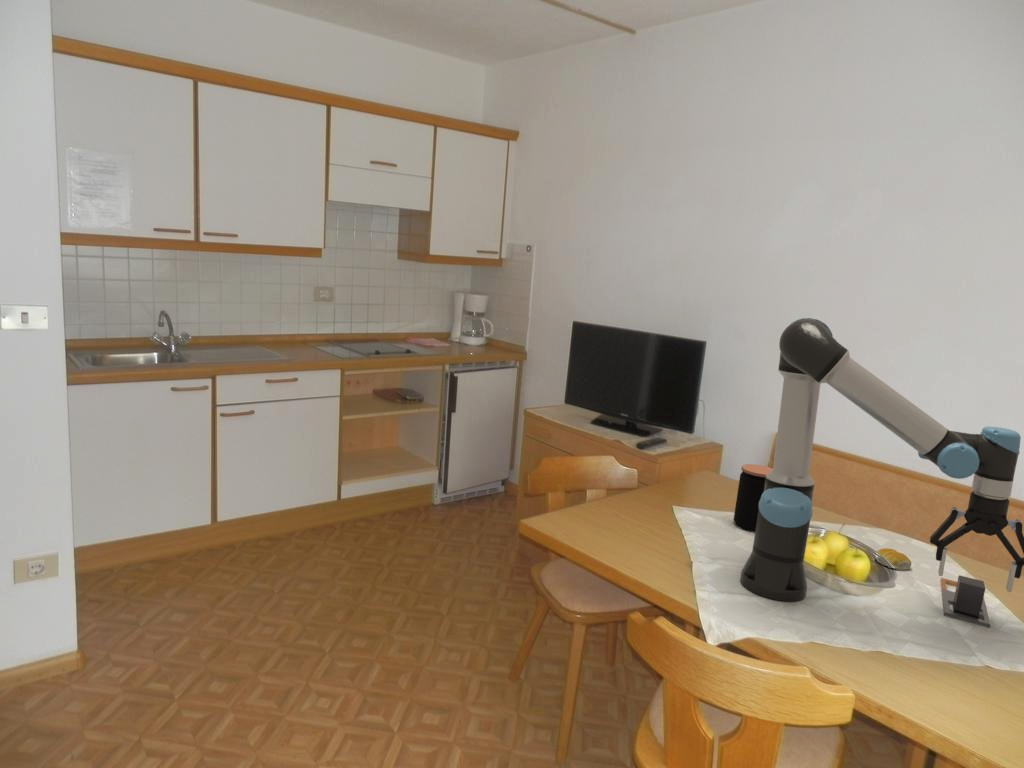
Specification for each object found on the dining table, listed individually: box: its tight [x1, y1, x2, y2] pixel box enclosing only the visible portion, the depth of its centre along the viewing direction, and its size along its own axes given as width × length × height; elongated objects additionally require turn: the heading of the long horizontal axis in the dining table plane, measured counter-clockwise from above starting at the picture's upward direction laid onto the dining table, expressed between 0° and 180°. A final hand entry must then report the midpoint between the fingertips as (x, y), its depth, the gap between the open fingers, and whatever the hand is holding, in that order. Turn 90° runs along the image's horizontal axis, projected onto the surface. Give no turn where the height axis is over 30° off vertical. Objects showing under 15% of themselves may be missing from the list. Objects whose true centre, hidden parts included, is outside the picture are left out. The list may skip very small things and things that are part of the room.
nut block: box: [952, 574, 986, 619], centre depth 167 cm, size 5×5×8 cm
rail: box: [940, 577, 991, 628], centre depth 174 cm, size 24×9×1 cm, turn 151°
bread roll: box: [876, 547, 912, 571], centre depth 195 cm, size 8×9×4 cm
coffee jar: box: [733, 463, 773, 532], centre depth 214 cm, size 11×11×18 cm
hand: (973, 581), depth 166 cm, fingers open, 13 cm apart
